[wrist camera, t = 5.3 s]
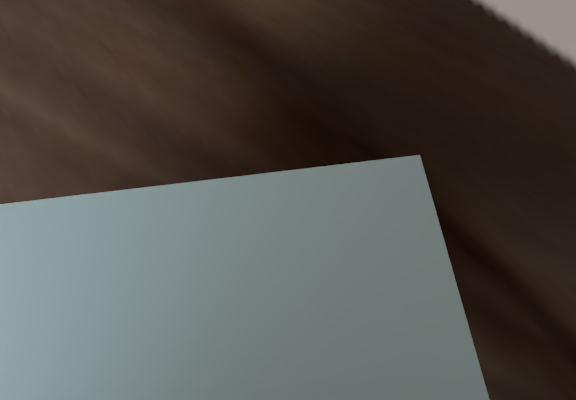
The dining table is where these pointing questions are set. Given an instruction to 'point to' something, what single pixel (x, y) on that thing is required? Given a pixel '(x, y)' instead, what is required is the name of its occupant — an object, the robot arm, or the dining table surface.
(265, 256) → the teal post
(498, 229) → the dining table surface
